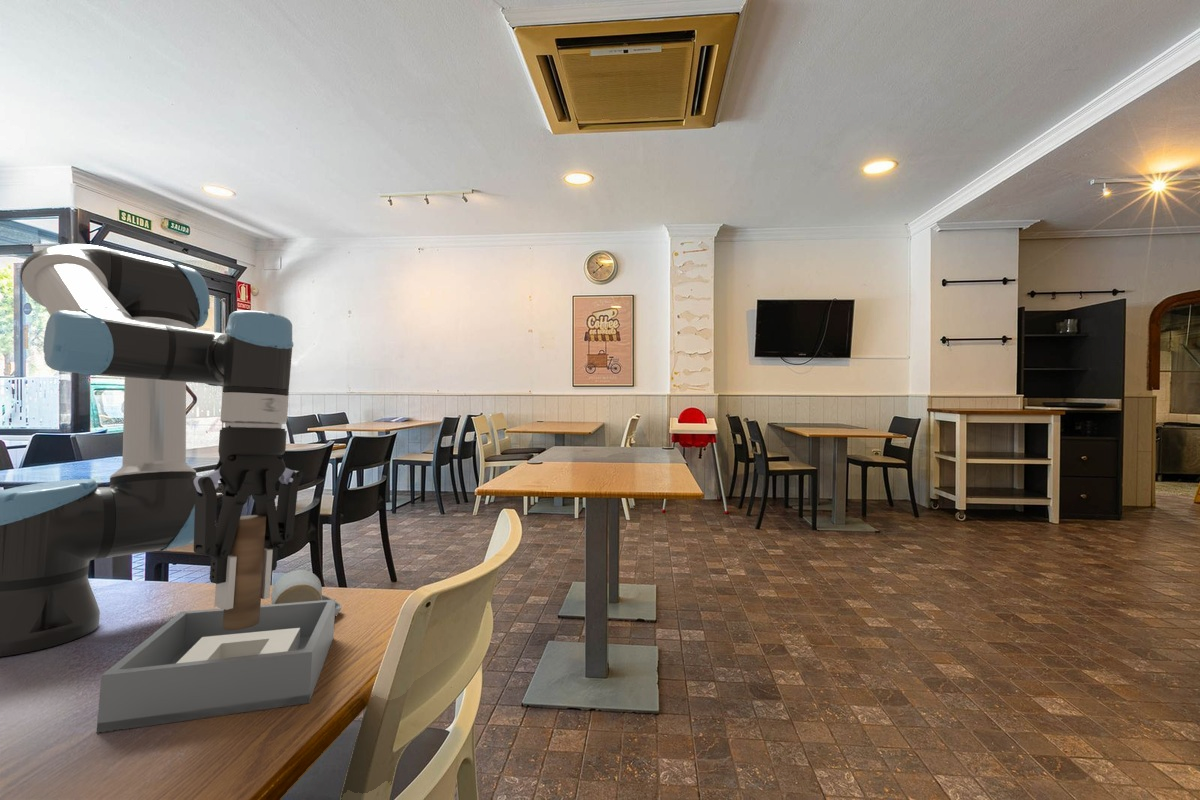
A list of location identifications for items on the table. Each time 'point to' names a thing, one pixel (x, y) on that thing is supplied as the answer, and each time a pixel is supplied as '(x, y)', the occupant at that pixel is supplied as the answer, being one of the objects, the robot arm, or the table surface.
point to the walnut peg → (247, 573)
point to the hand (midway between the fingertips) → (242, 601)
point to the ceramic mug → (299, 589)
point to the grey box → (218, 666)
